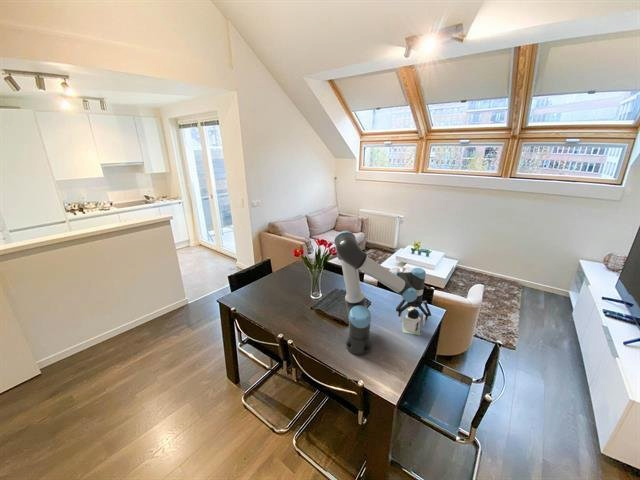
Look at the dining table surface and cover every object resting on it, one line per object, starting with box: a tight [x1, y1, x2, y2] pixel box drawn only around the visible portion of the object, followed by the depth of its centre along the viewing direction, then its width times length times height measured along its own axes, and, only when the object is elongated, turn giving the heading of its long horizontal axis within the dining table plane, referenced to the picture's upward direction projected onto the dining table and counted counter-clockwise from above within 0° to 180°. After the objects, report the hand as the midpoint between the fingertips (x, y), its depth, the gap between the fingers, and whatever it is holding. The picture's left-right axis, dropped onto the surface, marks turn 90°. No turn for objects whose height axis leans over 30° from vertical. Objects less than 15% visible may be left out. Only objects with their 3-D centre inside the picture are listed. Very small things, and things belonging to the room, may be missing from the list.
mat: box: [401, 321, 421, 336], centre depth 165 cm, size 10×10×1 cm
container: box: [402, 308, 422, 335], centre depth 163 cm, size 8×8×13 cm
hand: (411, 322), depth 164 cm, fingers open, 13 cm apart
